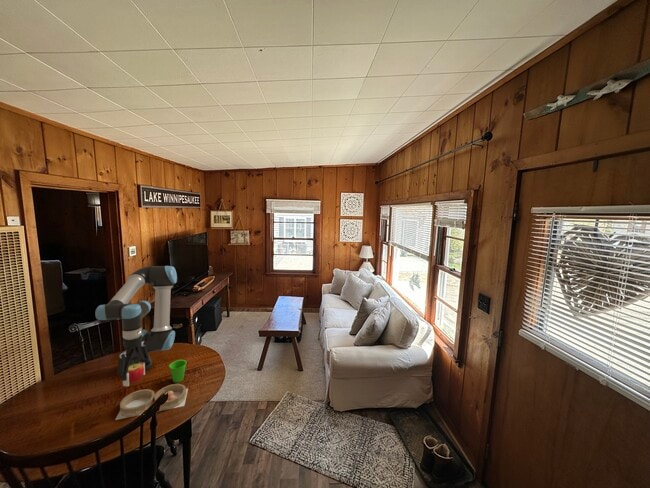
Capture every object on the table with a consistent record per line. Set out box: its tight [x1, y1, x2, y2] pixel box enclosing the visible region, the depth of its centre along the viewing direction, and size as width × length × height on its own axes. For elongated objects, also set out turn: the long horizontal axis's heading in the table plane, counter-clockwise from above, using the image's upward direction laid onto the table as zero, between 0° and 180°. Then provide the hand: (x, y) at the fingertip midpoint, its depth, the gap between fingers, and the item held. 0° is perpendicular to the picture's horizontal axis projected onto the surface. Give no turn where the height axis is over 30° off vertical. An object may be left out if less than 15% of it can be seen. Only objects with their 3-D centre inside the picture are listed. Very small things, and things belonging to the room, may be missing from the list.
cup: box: [168, 359, 188, 384], centre depth 152 cm, size 9×9×11 cm
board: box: [114, 388, 189, 421], centre depth 133 cm, size 29×14×1 cm, turn 111°
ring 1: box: [119, 388, 156, 418], centre depth 130 cm, size 14×14×4 cm
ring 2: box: [154, 383, 187, 411], centre depth 135 cm, size 14×14×4 cm
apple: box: [127, 362, 144, 383], centre depth 128 cm, size 8×8×10 cm
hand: (134, 379), depth 129 cm, fingers closed on apple, 8 cm apart
